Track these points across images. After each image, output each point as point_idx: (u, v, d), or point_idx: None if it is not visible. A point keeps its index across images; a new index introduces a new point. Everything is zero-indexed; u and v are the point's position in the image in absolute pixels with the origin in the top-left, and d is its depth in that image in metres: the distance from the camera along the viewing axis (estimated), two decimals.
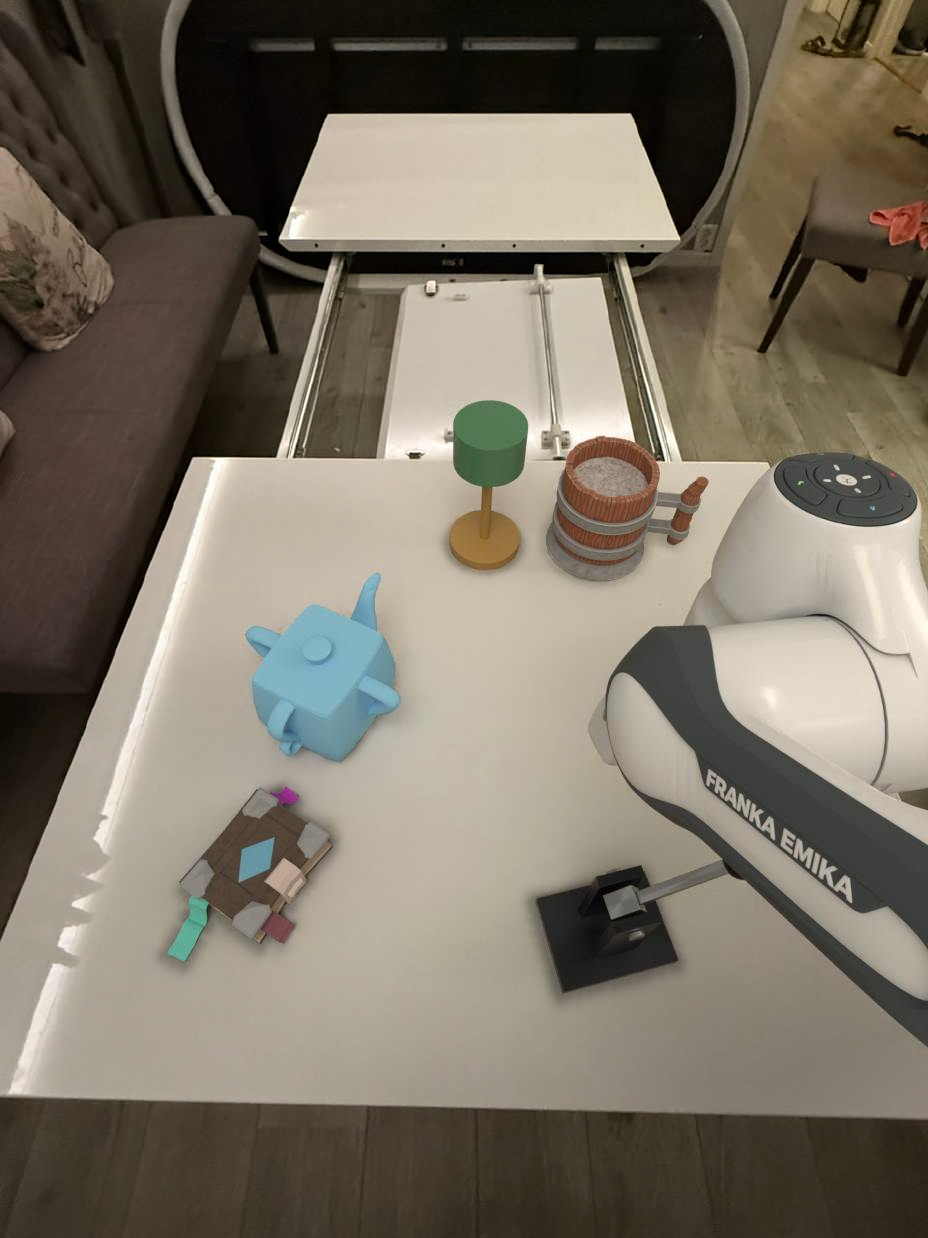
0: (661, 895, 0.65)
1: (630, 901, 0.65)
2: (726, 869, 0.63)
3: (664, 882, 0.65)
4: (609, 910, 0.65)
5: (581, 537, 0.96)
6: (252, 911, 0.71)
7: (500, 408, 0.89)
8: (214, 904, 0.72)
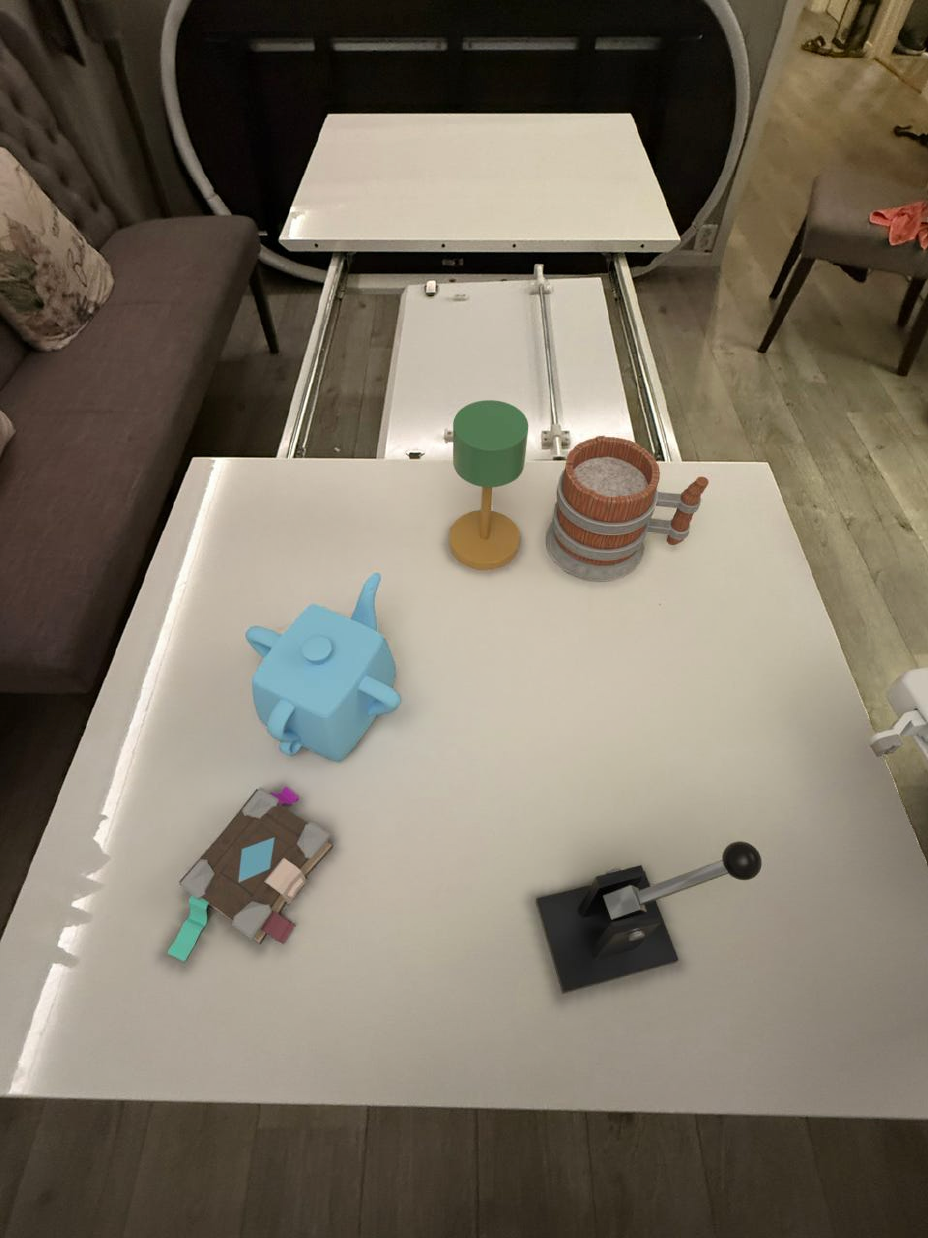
0: (661, 895, 0.65)
1: (630, 901, 0.65)
2: (726, 869, 0.63)
3: (664, 882, 0.65)
4: (609, 910, 0.65)
5: (581, 537, 0.96)
6: (252, 911, 0.71)
7: (500, 408, 0.89)
8: (214, 904, 0.72)
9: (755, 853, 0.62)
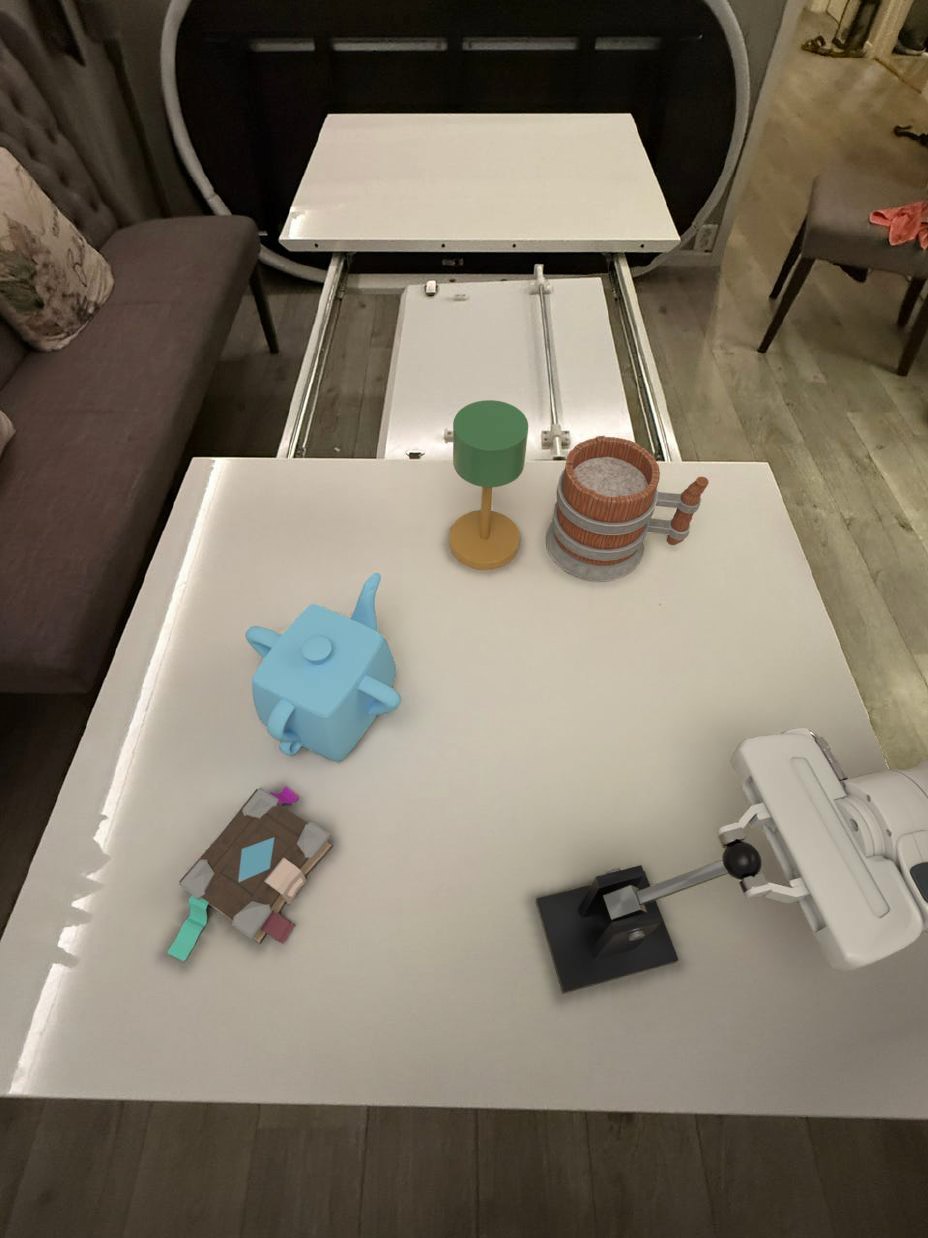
0: (661, 895, 0.65)
1: (630, 901, 0.65)
2: (726, 869, 0.63)
3: (664, 882, 0.65)
4: (609, 910, 0.65)
5: (581, 537, 0.96)
6: (251, 911, 0.71)
7: (500, 408, 0.89)
8: (214, 904, 0.72)
9: (755, 853, 0.62)
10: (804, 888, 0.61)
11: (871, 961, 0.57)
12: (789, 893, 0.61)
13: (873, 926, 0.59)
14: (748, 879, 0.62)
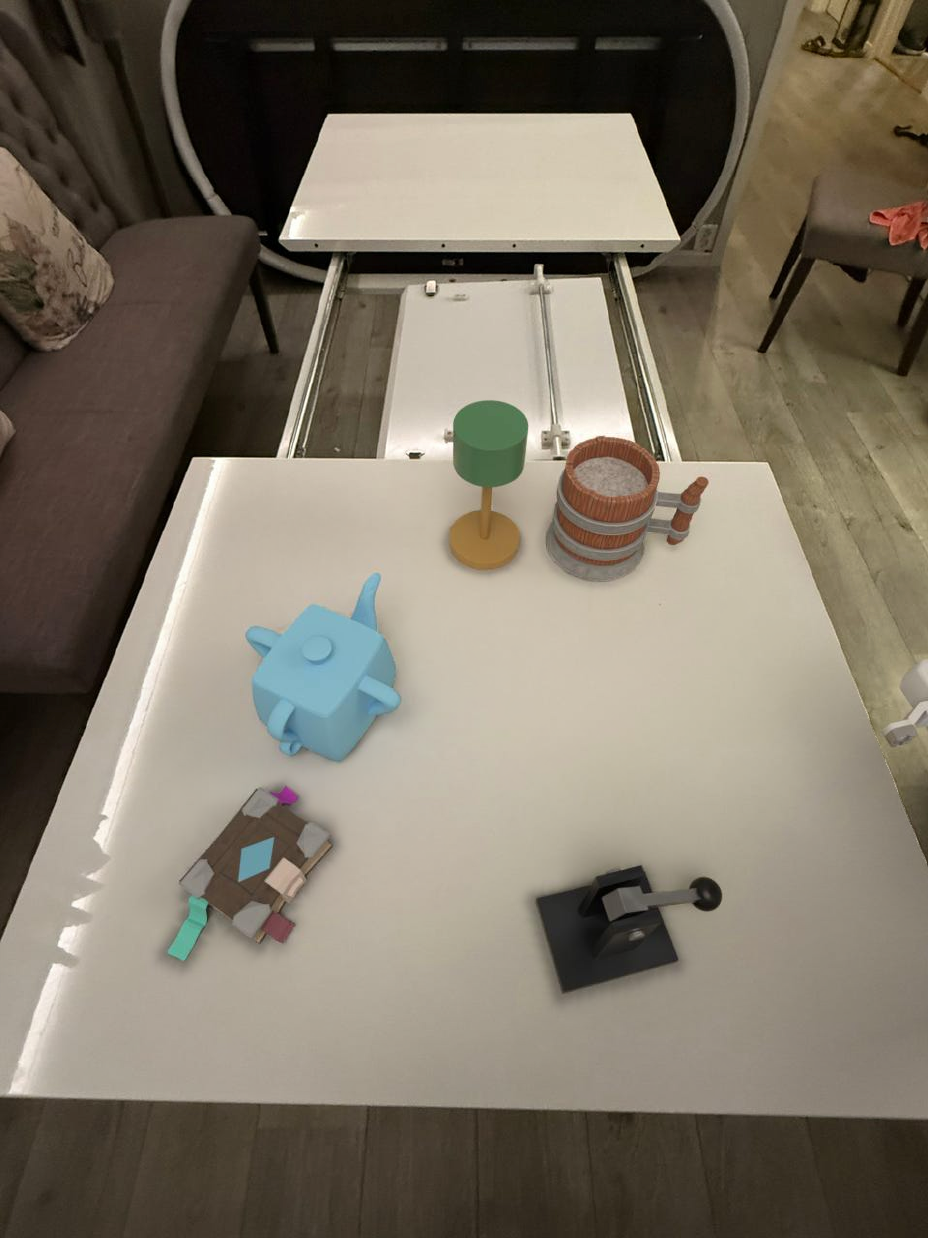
0: (656, 904, 0.67)
1: (640, 900, 0.66)
2: (701, 897, 0.71)
3: (658, 893, 0.68)
4: (624, 903, 0.65)
5: (581, 537, 0.96)
6: (251, 911, 0.71)
7: (500, 408, 0.89)
8: (214, 904, 0.72)
9: None
10: None
11: None
12: None
13: None
14: None
